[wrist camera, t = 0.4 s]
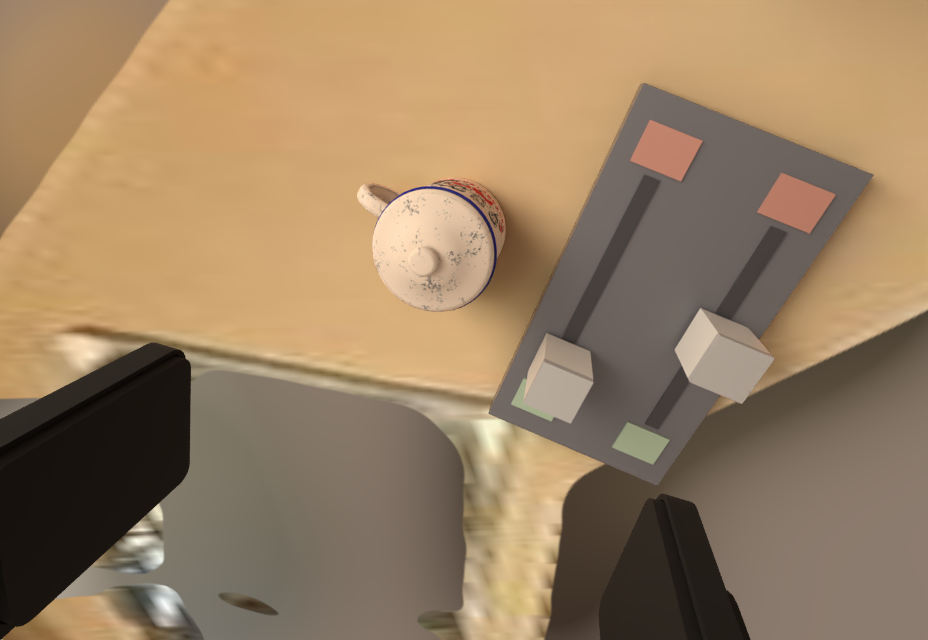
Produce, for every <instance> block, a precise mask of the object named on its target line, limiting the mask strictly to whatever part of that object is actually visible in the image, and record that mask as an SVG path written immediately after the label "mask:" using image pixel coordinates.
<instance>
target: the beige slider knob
mask: <svg viewBox="0 0 928 640" xmlns="http://www.w3.org/2000/svg"><path fill="white" fill-rule="evenodd" d="M675 352H676V354H677V356H678V358H679V360H680V363H681V365H682V367H683V369H684V371H685V373H686V375H687V377H688V380H689V382H690V383H693V384H695V385H698V386H700V387H702V388H705V389H707V390H710V391H712V392H714V393H717V394H719V395H721V396H724V397H726V398H729V399H731V400H733V401H736V402H738V403H741V404H742V403H743V402H744V401H745V399H746V398H747V396H748V395H749V394H750V392H751V391H752V390H753V388H754V387H755V385H756V384H757V383H758V381H759V380H760V379H761V377H762V376H763V374H764V373H765V372H766V370H767V369H768V368H769V366H770V365H771V363H772V362H773V361H774V359H775V358H774V357H773V356H772V355H771V353H770V352H769V351H768V350H767V349H766V348H765V347H764V345H763V344H762V343H761V342H760V341H759V340H758V338H757V337H756V336H755V335H754V334H753V333H752V332H751V330H750V329H749V328H748V327H745V326H743V325H740V324H738V323H735V322H733V321H731V320H728V319H726V318H723V317H721V316H719V315H716V314H714V313H711V312H709V311H706V310H704V309H702V308H700V310H699V311H698V313H697V314H696V316H695V318H694V319H693V321H692V322H691V324H690V326H689V327H688V329H687V330H686V332H685V334H684V335H683V337H682V339H681V340H680V342H679V343H678V345H677V347H676V348H675Z"/></svg>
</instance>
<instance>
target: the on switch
mask: <svg viewBox="0 0 928 640" xmlns="http://www.w3.org/2000/svg"><path fill="white" fill-rule="evenodd" d="M593 383H594V382H593V372H592V363H591V353H590V351H588V350H586V349H584V348H581V347H579V346H576V345H574V344H572V343H569V342H567V341H565V340H562V339H560V338H557V337H555V336H553V335H550V334H548V333H546V335H545V337H544V339H543V341H542V343H541V346H540V348H539V350H538V352H537V354H536V356H535V358H534V360H533V362H532V364H531V366H530V368H529V370H528V375H527V381H526V388H525V395H524V401H523V404H526V405H528V406H530V407H533V408H535V409H537V410H540V411H542V412H544V413H547V414H549V415H552V416H554V417H556V418H559V419H561V420H563V421H566V422H568V423H570V424H571V422H572V420H573V419H574V417H575V415H576V413H577V411H578V410H579V408H580V406H581V404H582V402H583V401H584V399H585V397H586V395H587V394H588V392H589V390H590V388H591V386H592V385H593Z"/></svg>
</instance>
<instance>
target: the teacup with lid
mask: <svg viewBox="0 0 928 640" xmlns="http://www.w3.org/2000/svg"><path fill="white" fill-rule="evenodd" d="M357 198H358V200H359V202H360V203H361V205H362V206H363V207H364V208H365V209H367V210H368V211H369V212H370V213H372V214H373V215H375V216H376V217H378V221H377V223H376V226H375V229H374V234H373V242H372V250H373V258H374V262H375V266H376V269H377V271H378V273H379V276H380V277H381V279H382V281H383V282H384V284H385V285H386V287H387V288H388V289H389V290H390V291H391V292H392V293H393V294H394V295H395V296H396V297H397V298H399V299H400V300H401V301H403V302H405V303H406V304H408V305H410V306H412V307H415V308H417V309H421V310H424V311H431V312H444V311H451V310H455V309H458V308H461V307H463V306H465V305H467V304H469V303H471V302H472V301H473V300H475V299H476V298H477V297H478V296H479V295H480V294H481V293H482V292H483V291H484V290H485V288H486V287H487V285H488V284H489V282H490V280H491V278H492V276H493V273H494V270H495V266H496V261H497V258H498V256H499V254H500V252H501V250H502V248H503V245H504V241H505V236H506V224H505V218H504V214H503V212H502V209H501V207H500V205H499V203H498V202H497V200H496V199H495V197H494V196H493V195H492V194H491V193H490V192H489V191H488V190H487V189H486V188H484V187H483V186H481V185H480V184H478V183H476V182H474V181H471V180H468V179H464V178H446V179H441V180H438V181H436V182H433V183H431V184H429V185H427V186H425V187H418V188H414V189H411V190H409V191H406V192H404V193H402V194H400V193H398V192H396V191H394V190H392V189H390V188H388V187H385V186H382V185H379V184H373V183H367V184H364V185H362V186H361V187H360V189H359V191H358V194H357Z"/></svg>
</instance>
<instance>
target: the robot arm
mask: <svg viewBox="0 0 928 640" xmlns="http://www.w3.org/2000/svg"><path fill="white" fill-rule="evenodd" d="M190 387H191V365H190V362H189V361H188V360H187V359H186V358H185V355H184V353H183V352H182V351H181V350H178V349H175V348H172V347H168V346H165V345H162V344H158V343H149V344H146V345H145V346H143V347H141V348H139V349H137V350H135V351H133V352H131V353H129V354H127V355H125V356H123V357H121V358H119V359H117V360H115V361H113V362H111V363H109V364H107V365H105V366H103V367H101V368H100V369H98V370H96V371H94V372H92V373H90V374H88V375H86V376H84V377H82V378H80V379H78V380H76V381H74V382H72V383H70V384H68V385H66V386H64V387H62V388H60V389H58V390H56V391H54V392H53V393H51V394H49V395H47V396H45V397H43V398H41V399H39V400H37V401H35V402H33V403H31V404H29V405H27V406H25V407H23V408H21V409H19V410H17V411H15V412H13V413H11V414H9V415H8V416H6V417H4V418H2V419H0V640H1V639H2V638H3V637H4V636H5V635H6V634H8V633H9V632H10V631H11V630H12V629H13V628H14V627H15V626H16V627H18V626H23V625H24V624H26V623H28V622H29V621H31V620H32V619H33V618H34V617H36V616H37V615H38V614H39V613H40V612H41V611H42V610H43V609H44V608H45V607H46V606H47V605H49V604H50V603H51V602H52V601H53V600H54V599H55V598H56V597H57V596H58V595H59V594H61V593H62V592H63V591H64V590H65V589H66V588H67V587H68V586H69V585H70V584H71V583H72V582H74V581H75V579H77V578H78V577H79V576H80V575H81V574H82V573H83V572H84V571H85V570H87V569H88V568H89V567H90V566H91V565H92V564H93V563H94V562H95V561H96V560H97V559H99V558H100V557H101V556H102V555H103V554H104V553H105V552H106V551H107V550H108V549H109V548H111V547H112V546H113V545H114V544H115V543H116V542H117V541H118V540H119V539H120V538H121V537H122V536H124V535H125V534H126V533H127V532H128V531H129V530H130V529H131V528H132V527H133V526H134V525H136V524H137V523H138V522H139V521H140V520H141V519H142V518H143V517H144V516H145V515H146V514H147V513H149V512H150V511H151V510H152V509H153V508H154V507H155V506H156V505H157V504H158V503H159V502H160V501H161V500H163V499H164V498H165V497H166V496H167V495H168V494H169V493H170V492H171V491H172V490H174V489H175V488H176V487H177V486H178V485H179V484H180V483H181V482H182V481H183V479H184V478H185V476H186V474H187V472H188V469H189V464H190V462H189V461H190V395H191V394H190V393H191V388H190ZM599 627H600V640H750V637H749V634H748V632H747V629H746V626H745V624H744V621H743V619H742V616H741V613H740V610H739V608H738V605H737V603H736V601H735V599H734V597H733V595H732V594H731V593H729V592H728V591H727V590H726V588H725V586H724V583H723V580H722V577H721V574H720V572H719V569H718V566H717V563H716V561H715V558H714V555H713V552H712V549H711V547H710V544H709V541H708V538H707V535H706V533H705V530H704V527H703V524H702V521H701V519H700V516H699V513H698V510H697V508H696V506H695V504H694V503H692V502H689V501H686V500H683V499H679V498H676V497H673V496H669V495H666V494H660V495H659V496H658V497H657V499H656V500H655V499H652V498H649V499H648V500H647V501H646V502H645V504H644V506H643V509H642V511H641V513H640V515H639V517H638V519H637V522H636V524H635V526H634V528H633V530H632V533H631V535H630V537H629V539H628V541H627V543H626V546H625V548H624V550H623V552H622V554H621V557H620V559H619V561H618V563H617V566H616V567H615V570H614V572H613V574H612V576H611V578H610V581H609V583H608V585H607V587H606V589H605V592H604V594H603V596H602V599H601V602H600V608H599Z"/></svg>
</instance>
